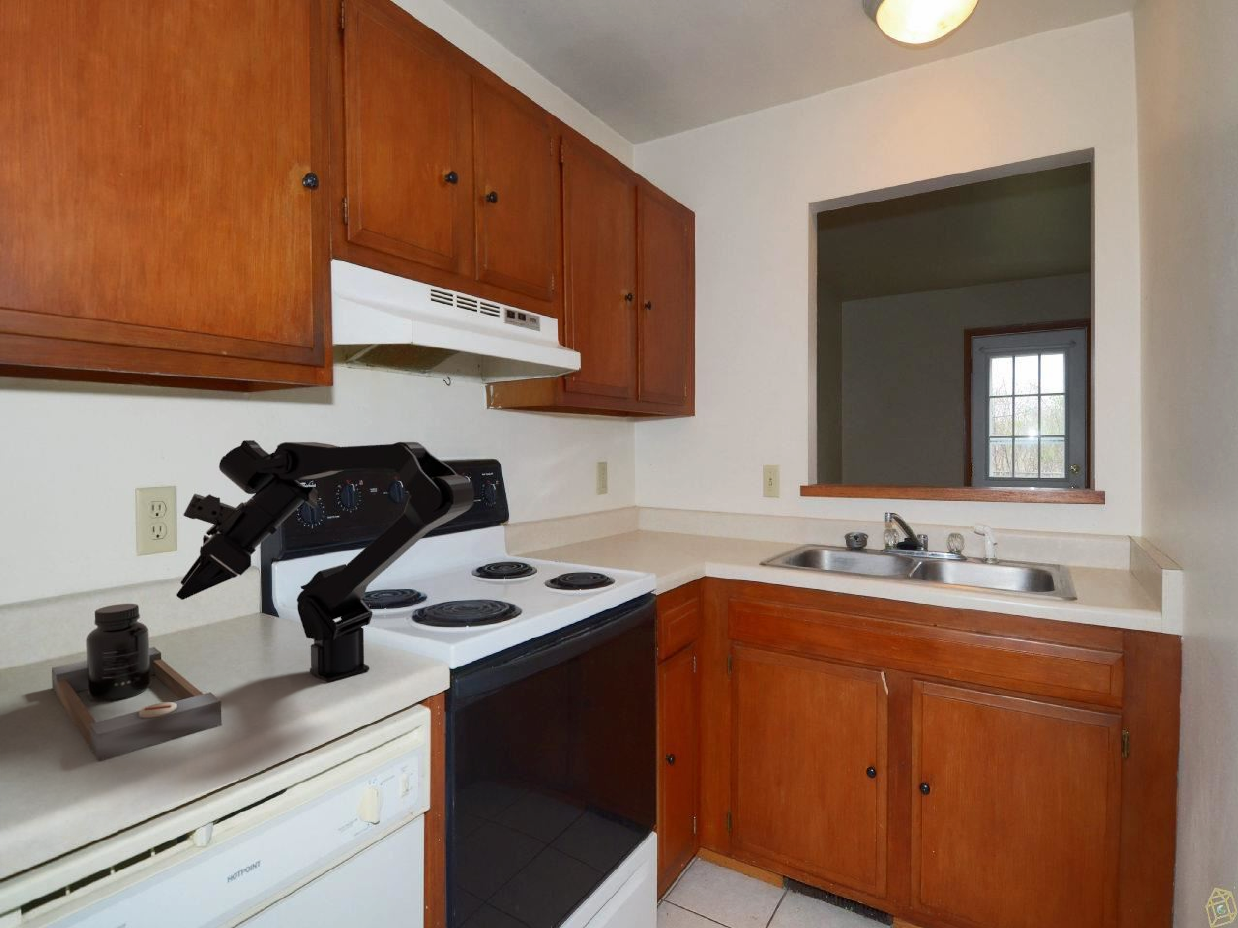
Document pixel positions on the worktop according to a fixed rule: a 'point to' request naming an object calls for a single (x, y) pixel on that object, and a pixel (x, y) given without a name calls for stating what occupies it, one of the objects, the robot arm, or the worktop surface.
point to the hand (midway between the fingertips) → (181, 590)
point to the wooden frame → (141, 725)
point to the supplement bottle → (117, 654)
